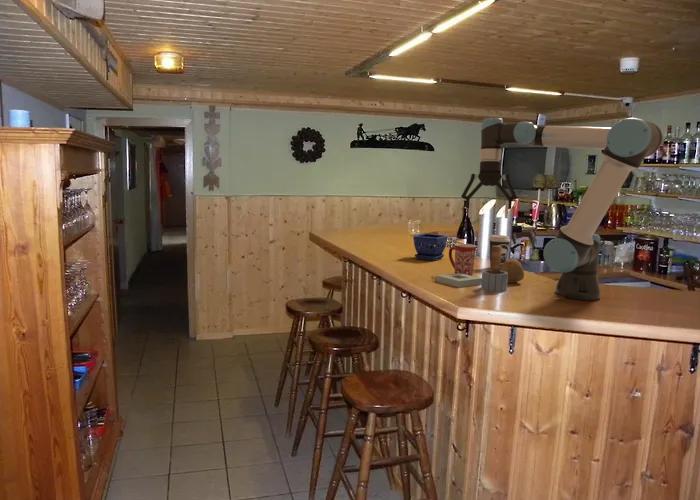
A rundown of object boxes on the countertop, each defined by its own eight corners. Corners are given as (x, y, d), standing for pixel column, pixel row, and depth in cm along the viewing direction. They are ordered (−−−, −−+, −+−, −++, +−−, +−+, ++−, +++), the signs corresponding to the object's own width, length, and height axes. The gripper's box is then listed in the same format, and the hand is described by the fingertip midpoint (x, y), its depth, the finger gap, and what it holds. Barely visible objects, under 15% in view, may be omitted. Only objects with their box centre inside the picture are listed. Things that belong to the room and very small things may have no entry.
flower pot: (436, 262, 263) (437, 237, 261) (411, 259, 270) (412, 235, 268) (447, 258, 274) (448, 235, 272) (423, 256, 281) (424, 233, 279)
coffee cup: (510, 268, 251) (513, 236, 249) (504, 271, 243) (507, 238, 241) (490, 265, 257) (492, 234, 254) (484, 268, 249) (486, 236, 246)
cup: (511, 291, 201) (512, 273, 200) (494, 294, 196) (496, 275, 195) (492, 287, 208) (493, 269, 207) (476, 289, 203) (477, 270, 202)
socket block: (481, 285, 210) (481, 278, 209) (458, 288, 203) (459, 281, 203) (458, 280, 220) (459, 272, 219) (436, 282, 213) (437, 275, 212)
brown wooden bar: (500, 289, 202) (503, 246, 199) (494, 290, 200) (497, 247, 197) (493, 287, 204) (496, 245, 202) (487, 288, 202) (489, 246, 200)
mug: (479, 277, 226) (481, 245, 224) (464, 280, 221) (466, 247, 219) (456, 272, 236) (458, 242, 234) (441, 274, 231) (443, 243, 229)
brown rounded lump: (498, 280, 222) (500, 256, 220) (521, 282, 220) (523, 257, 219) (500, 284, 213) (502, 259, 212) (524, 286, 211) (526, 261, 210)
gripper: (523, 161, 205) (520, 217, 208) (455, 160, 208) (453, 216, 211) (526, 160, 198) (523, 219, 200) (457, 160, 201) (454, 217, 204)
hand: (487, 217), depth 206 cm, fingers open, 13 cm apart
